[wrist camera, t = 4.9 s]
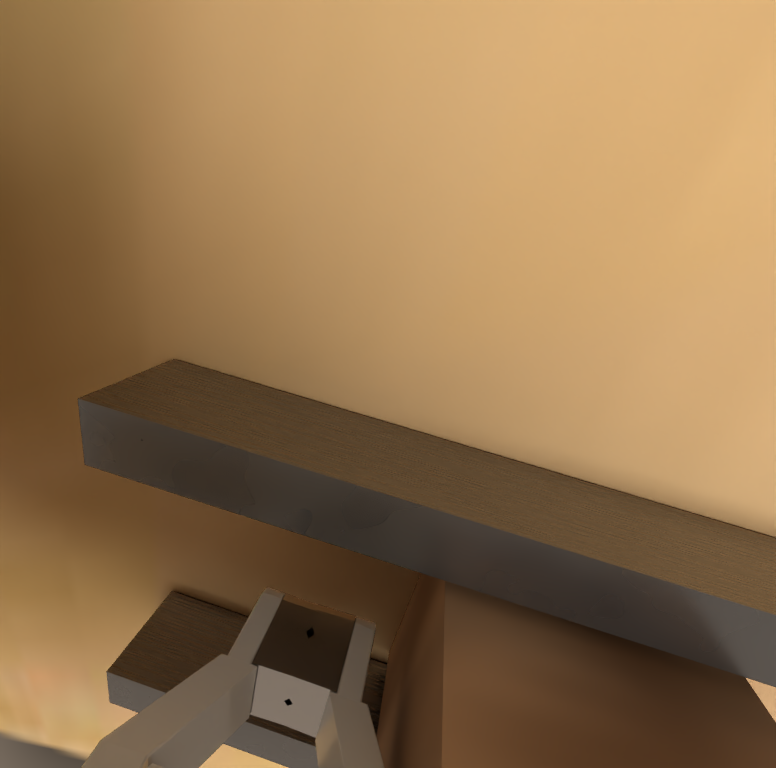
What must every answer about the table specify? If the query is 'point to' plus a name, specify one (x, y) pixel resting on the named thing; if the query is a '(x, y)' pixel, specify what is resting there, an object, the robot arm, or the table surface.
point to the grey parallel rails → (417, 531)
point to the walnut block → (553, 694)
